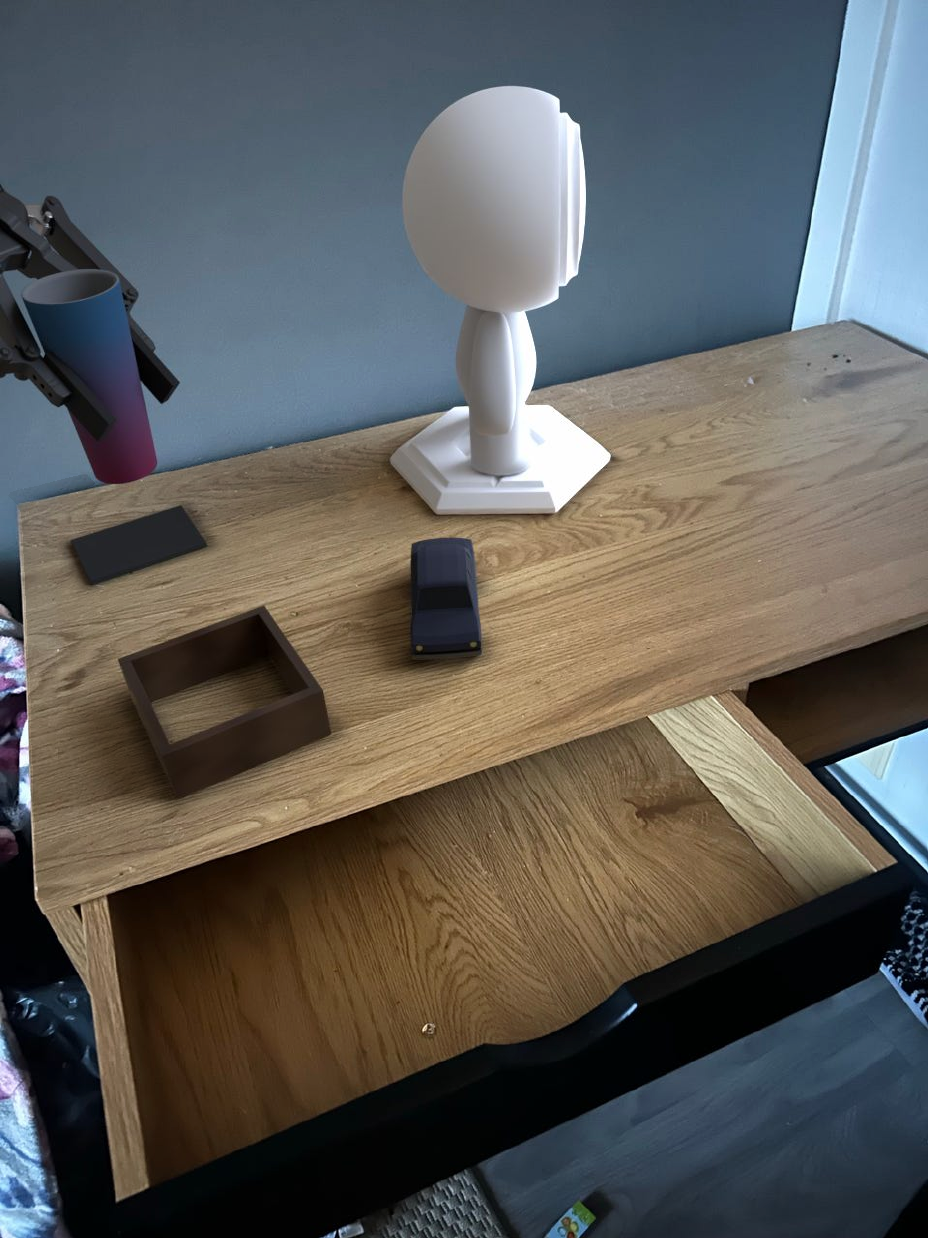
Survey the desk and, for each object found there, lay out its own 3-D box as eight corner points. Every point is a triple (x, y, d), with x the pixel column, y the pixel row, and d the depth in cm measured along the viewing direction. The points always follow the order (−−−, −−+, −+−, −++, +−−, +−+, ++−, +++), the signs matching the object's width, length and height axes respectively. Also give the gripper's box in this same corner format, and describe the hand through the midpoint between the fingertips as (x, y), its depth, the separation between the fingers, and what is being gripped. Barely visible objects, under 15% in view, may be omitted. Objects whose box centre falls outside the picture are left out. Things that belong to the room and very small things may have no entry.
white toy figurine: (615, 513, 94) (636, 110, 72) (378, 515, 96) (328, 123, 74) (605, 415, 109) (620, 59, 87) (401, 419, 111) (365, 71, 89)
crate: (177, 800, 69) (161, 755, 66) (133, 701, 77) (117, 658, 74) (331, 734, 73) (323, 689, 70) (273, 647, 81) (264, 604, 78)
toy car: (411, 672, 78) (405, 624, 75) (411, 565, 89) (406, 518, 86) (485, 667, 78) (482, 618, 75) (475, 560, 89) (472, 514, 86)
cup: (163, 440, 83) (114, 262, 74) (173, 478, 78) (123, 292, 69) (80, 458, 81) (20, 278, 72) (85, 498, 76) (21, 310, 67)
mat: (91, 585, 89) (89, 581, 89) (71, 544, 95) (70, 539, 94) (207, 546, 93) (206, 542, 93) (182, 508, 99) (181, 504, 98)
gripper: (11, 164, 80) (205, 386, 83) (-210, 235, 68) (28, 493, 71) (34, 95, 74) (241, 337, 78) (-203, 160, 62) (55, 443, 65)
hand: (139, 411), depth 74 cm, fingers closed on cup, 6 cm apart
